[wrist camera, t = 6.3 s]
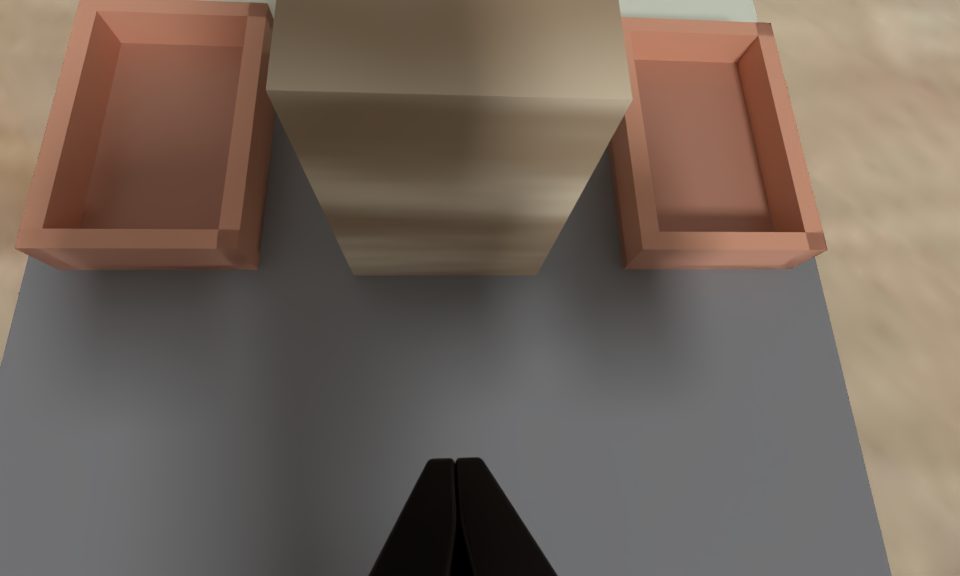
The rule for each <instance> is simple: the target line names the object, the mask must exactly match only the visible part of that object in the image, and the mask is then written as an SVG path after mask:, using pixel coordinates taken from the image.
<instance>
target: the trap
mask: <svg viewBox="0 0 960 576" xmlns="http://www.w3.org/2000/svg"><path fill="white" fill-rule="evenodd" d="M273 23H274V19H273V16H272V13H271V11H270V8H269V5H268V3H252V2H227V1H201V0H80V2H79V5H78V9H77V13H76V17H75V20H74V24H73V28H72V32H71V36H70V39H69V43H68V47H67V51H66V55H65V58H64V62H63V66H62V70H61V73H60V77H59V81H58V85H57V89H56V92H55V96H54V100H53V104H52V108H51V111H50V115H49V119H48V123H47V126H46V130H45V134H44V138H43V142H42V145H41V149H40V153H39V157H38V161H37V164H36V168H35V172H34V176H33V180H32V183H31V187H30V191H29V195H28V198H27V202H26V206H25V210H24V214H23V217H22V221H21V225H20V229H19V233H18V236H17V240H16V244H15V249H17V250H19V251H21V252H23V253H25V254H27V255H29V256H31V257H33V258H36V259H38V260H40V261H42V262H44V263H46V264H48V265H50V266H52V267H54V268H56V269H58V270H258V267H259V258H260V249H261V240H262V230H263V221H264V212H265V203H266V193H267V184H268V175H269V166H270V156H271V147H272V138H273V129H274V119H275V109H274V107H273V104H272V102H271V100H270V98H269V96H268V94H267V92H266V83H267V74H268V66H269V57H270V49H271V40H272V32H273Z"/></svg>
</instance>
